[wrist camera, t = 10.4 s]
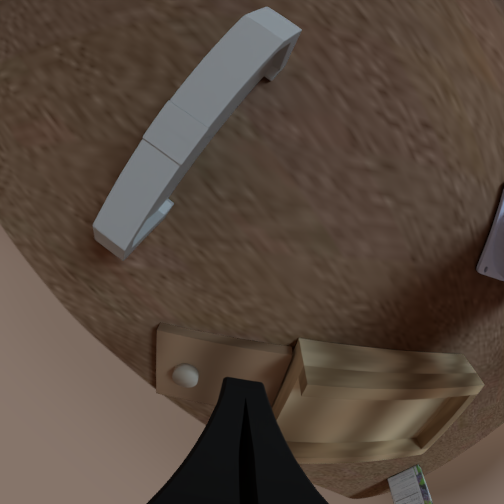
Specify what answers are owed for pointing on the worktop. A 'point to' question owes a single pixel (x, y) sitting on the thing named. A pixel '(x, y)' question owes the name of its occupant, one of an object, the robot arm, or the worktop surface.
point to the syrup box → (409, 487)
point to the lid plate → (214, 363)
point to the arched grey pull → (191, 126)
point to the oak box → (369, 401)
